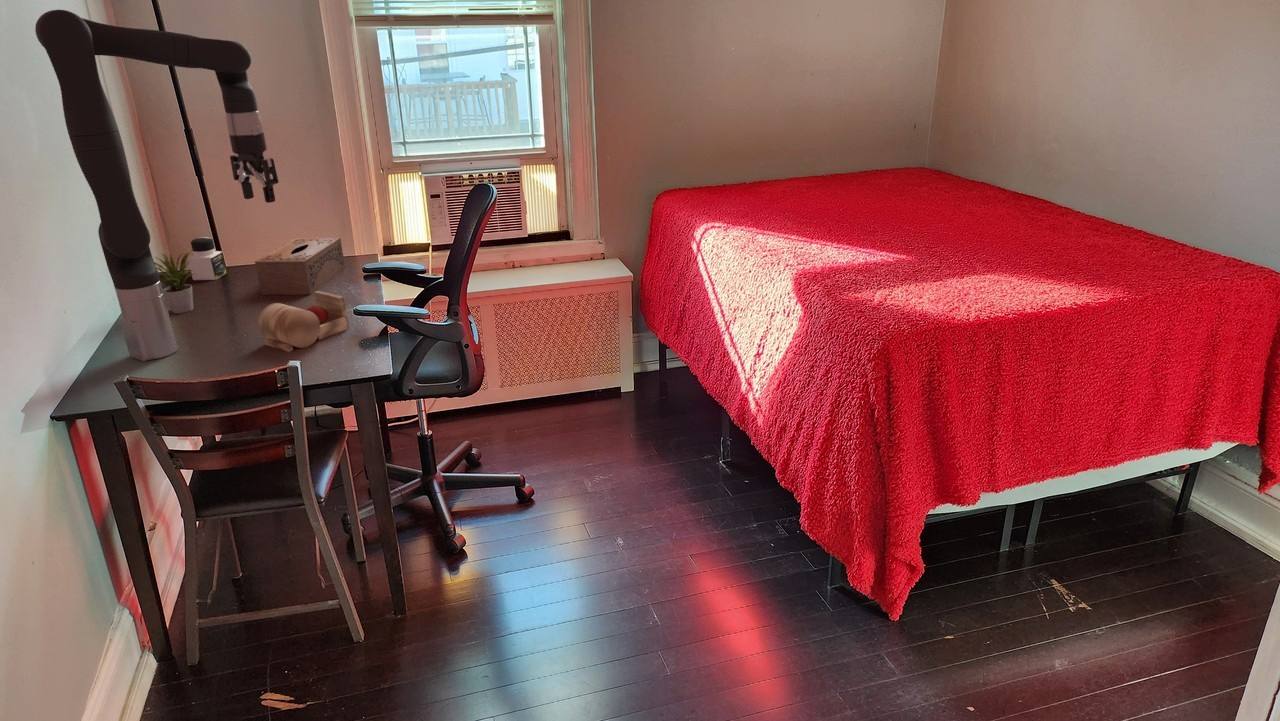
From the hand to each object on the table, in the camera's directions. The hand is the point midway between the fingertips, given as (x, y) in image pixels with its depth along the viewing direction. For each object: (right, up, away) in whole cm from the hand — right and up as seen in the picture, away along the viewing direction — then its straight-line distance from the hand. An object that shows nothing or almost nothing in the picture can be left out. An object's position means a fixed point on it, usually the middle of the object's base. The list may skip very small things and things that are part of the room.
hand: (259, 200), depth 203 cm
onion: (+9, -29, +3) cm, 31 cm away
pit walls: (+11, -31, +8) cm, 34 cm away
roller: (+8, -34, +1) cm, 35 cm away
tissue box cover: (-8, -15, +48) cm, 51 cm away
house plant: (-33, -25, +26) cm, 49 cm away
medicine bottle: (-40, -13, +54) cm, 68 cm away
